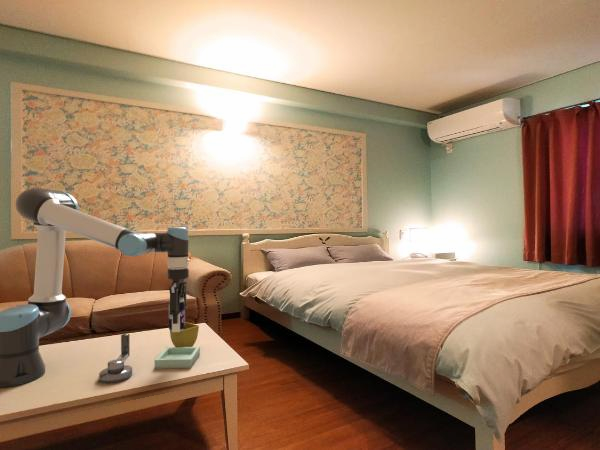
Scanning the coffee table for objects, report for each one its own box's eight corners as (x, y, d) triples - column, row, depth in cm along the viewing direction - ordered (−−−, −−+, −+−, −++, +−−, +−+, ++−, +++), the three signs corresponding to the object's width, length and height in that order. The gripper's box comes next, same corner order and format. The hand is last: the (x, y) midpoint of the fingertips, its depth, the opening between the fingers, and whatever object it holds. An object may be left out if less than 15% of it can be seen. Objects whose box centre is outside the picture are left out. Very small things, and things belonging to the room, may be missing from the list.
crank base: (92, 383, 113) (92, 376, 113) (108, 371, 123) (108, 364, 123) (124, 383, 114) (124, 376, 114) (137, 370, 124) (137, 364, 124)
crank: (121, 373, 117) (121, 346, 117) (105, 374, 116) (105, 347, 116) (133, 356, 131) (133, 332, 131) (119, 357, 130) (119, 333, 130)
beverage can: (179, 332, 129) (179, 300, 129) (165, 331, 130) (165, 299, 130) (187, 328, 135) (187, 297, 135) (174, 327, 136) (173, 296, 136)
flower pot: (199, 346, 149) (199, 325, 149) (182, 352, 141) (182, 330, 141) (185, 342, 153) (185, 322, 153) (168, 348, 146) (168, 327, 146)
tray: (154, 368, 126) (154, 360, 126) (166, 355, 139) (166, 347, 139) (191, 367, 126) (191, 359, 126) (199, 354, 139) (199, 346, 139)
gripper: (181, 271, 123) (181, 336, 123) (194, 265, 142) (194, 322, 142) (159, 271, 123) (159, 337, 123) (175, 265, 142) (176, 322, 142)
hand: (178, 329), depth 132 cm, fingers closed on beverage can, 6 cm apart
